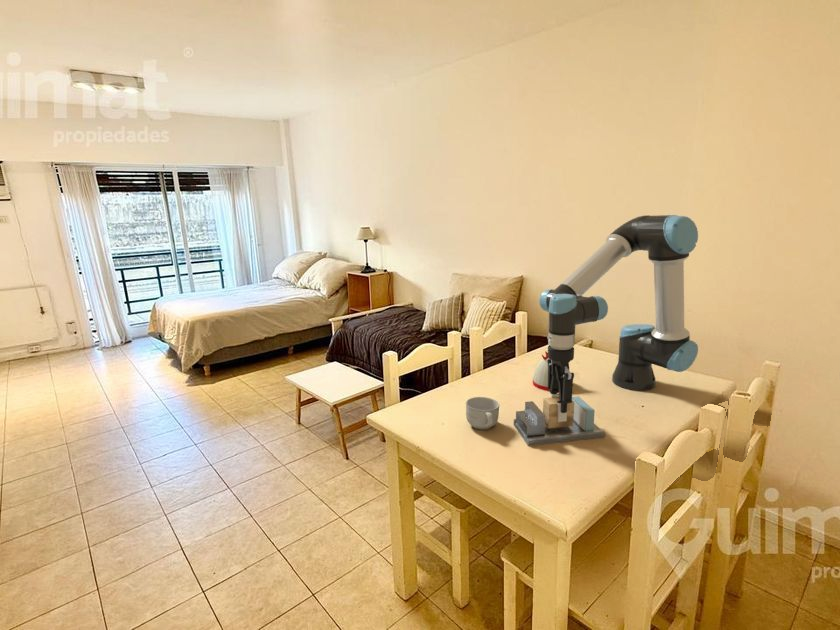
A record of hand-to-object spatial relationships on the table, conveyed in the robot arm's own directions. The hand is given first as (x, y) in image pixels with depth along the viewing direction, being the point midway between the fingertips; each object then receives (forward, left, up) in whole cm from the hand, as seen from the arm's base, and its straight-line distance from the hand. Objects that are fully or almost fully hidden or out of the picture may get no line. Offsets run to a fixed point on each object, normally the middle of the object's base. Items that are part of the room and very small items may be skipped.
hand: (558, 416), depth 136 cm
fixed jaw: (+9, 0, -3) cm, 10 cm away
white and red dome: (-13, -35, -5) cm, 38 cm away
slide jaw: (-8, 0, -3) cm, 8 cm away
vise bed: (0, 0, -5) cm, 5 cm away
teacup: (+22, -7, -5) cm, 24 cm away
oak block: (0, 0, -2) cm, 2 cm away
